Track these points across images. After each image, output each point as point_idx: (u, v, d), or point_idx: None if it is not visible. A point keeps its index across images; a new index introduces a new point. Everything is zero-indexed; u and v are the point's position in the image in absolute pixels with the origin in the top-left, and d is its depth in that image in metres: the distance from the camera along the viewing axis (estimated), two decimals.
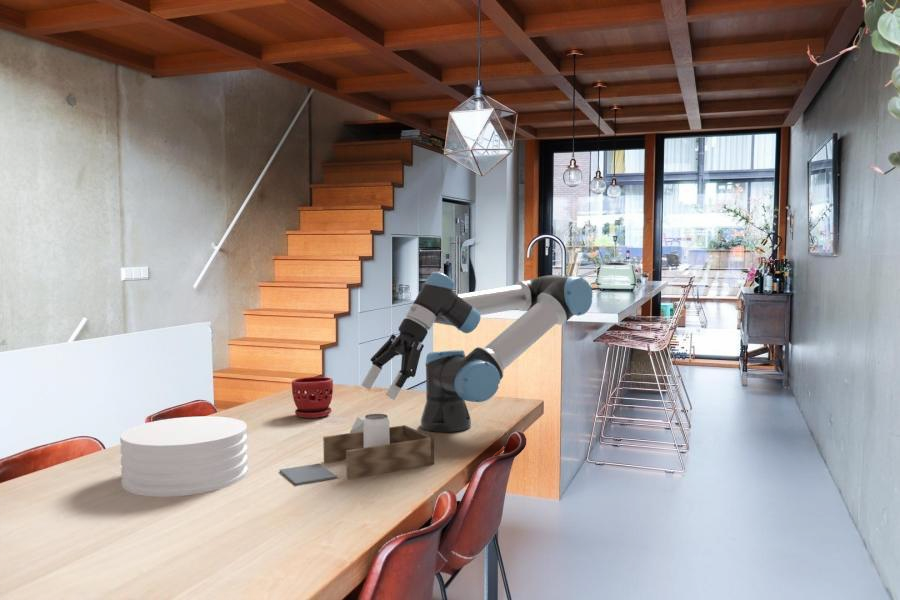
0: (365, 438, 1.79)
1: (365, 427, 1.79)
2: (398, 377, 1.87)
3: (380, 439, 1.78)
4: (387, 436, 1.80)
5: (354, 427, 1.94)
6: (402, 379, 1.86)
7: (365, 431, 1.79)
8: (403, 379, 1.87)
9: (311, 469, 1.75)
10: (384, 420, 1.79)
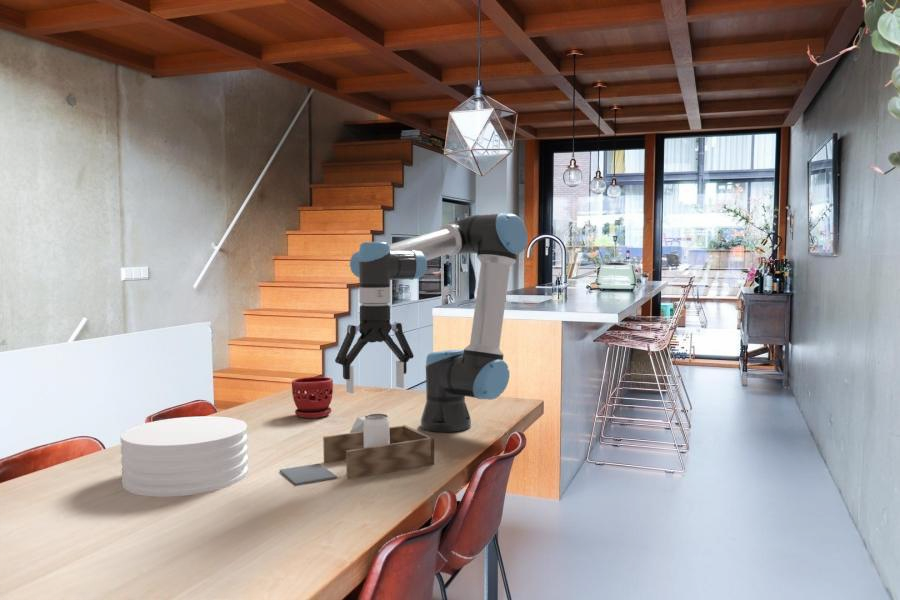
0: (365, 438, 1.79)
1: (365, 427, 1.79)
2: None
3: (380, 439, 1.78)
4: (387, 436, 1.80)
5: (354, 427, 1.94)
6: None
7: (365, 431, 1.79)
8: None
9: (311, 469, 1.75)
10: (384, 420, 1.79)
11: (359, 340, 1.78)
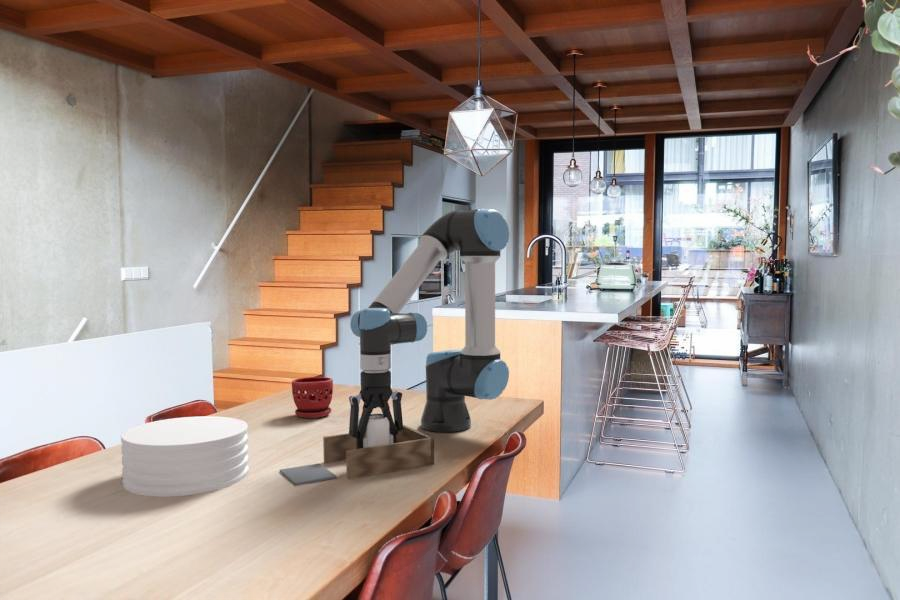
0: None
1: None
2: None
3: (380, 439, 1.78)
4: (387, 436, 1.80)
5: None
6: None
7: None
8: None
9: (311, 469, 1.75)
10: (384, 420, 1.79)
11: (364, 409, 1.80)
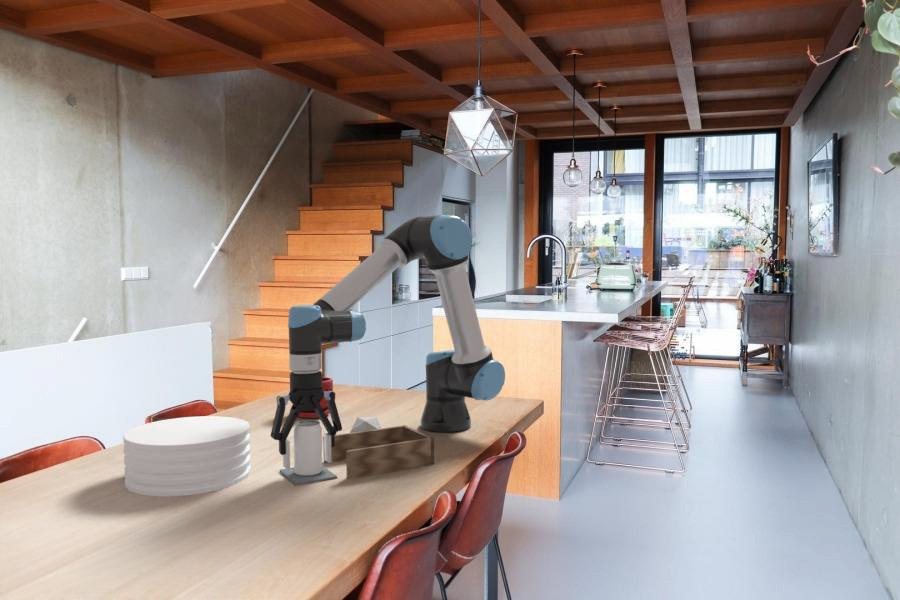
0: (295, 446, 1.70)
1: (295, 434, 1.70)
2: (330, 439, 1.74)
3: (310, 447, 1.69)
4: (319, 444, 1.71)
5: (354, 427, 1.94)
6: None
7: (295, 439, 1.70)
8: None
9: None
10: (315, 428, 1.70)
11: (291, 411, 1.70)
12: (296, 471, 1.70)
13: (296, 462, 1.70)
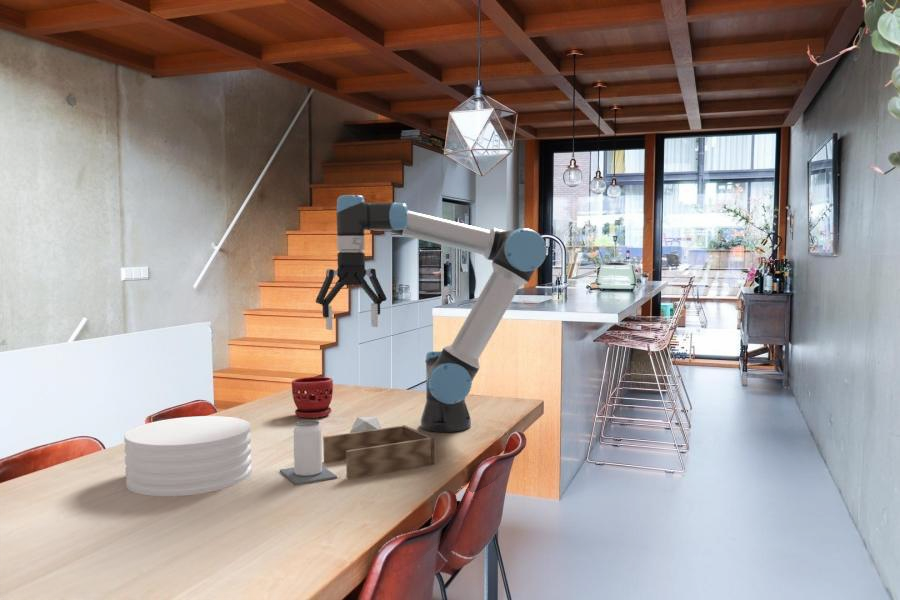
0: (295, 446, 1.70)
1: (295, 435, 1.70)
2: None
3: (310, 447, 1.69)
4: (318, 444, 1.71)
5: (354, 427, 1.94)
6: None
7: (295, 439, 1.70)
8: None
9: None
10: (315, 428, 1.70)
11: (337, 283, 2.00)
12: (296, 471, 1.70)
13: (296, 463, 1.70)
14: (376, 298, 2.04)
